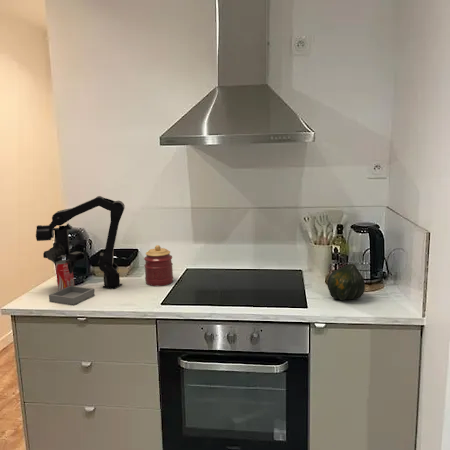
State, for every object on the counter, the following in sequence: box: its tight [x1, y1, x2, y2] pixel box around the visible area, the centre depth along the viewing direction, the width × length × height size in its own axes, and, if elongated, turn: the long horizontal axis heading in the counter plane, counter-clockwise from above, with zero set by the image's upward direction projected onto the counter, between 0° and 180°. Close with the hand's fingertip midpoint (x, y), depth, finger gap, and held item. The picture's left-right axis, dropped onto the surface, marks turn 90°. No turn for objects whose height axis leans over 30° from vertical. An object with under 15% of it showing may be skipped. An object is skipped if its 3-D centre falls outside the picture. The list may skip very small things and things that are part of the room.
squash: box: [327, 263, 366, 301], centre depth 193 cm, size 14×15×15 cm
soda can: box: [54, 259, 75, 291], centre depth 213 cm, size 7×7×13 cm
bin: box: [48, 285, 95, 306], centre depth 202 cm, size 13×13×3 cm
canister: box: [143, 244, 174, 287], centre depth 220 cm, size 13×13×18 cm
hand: (65, 273), depth 213 cm, fingers closed on soda can, 6 cm apart
